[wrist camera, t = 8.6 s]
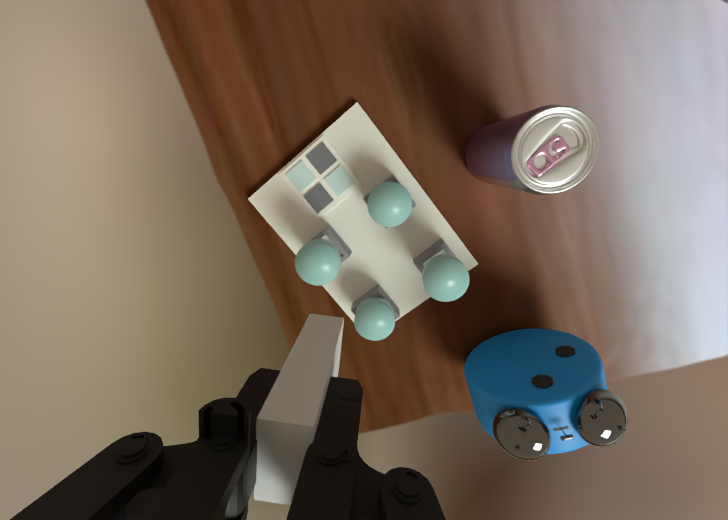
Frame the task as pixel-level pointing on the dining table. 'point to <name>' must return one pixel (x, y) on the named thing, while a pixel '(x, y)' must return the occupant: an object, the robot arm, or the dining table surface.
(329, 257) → the button
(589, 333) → the dining table surface
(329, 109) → the dining table surface
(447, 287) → the button
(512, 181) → the beverage can
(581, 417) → the alarm clock
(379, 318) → the button
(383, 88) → the dining table surface
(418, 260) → the board
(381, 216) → the button
